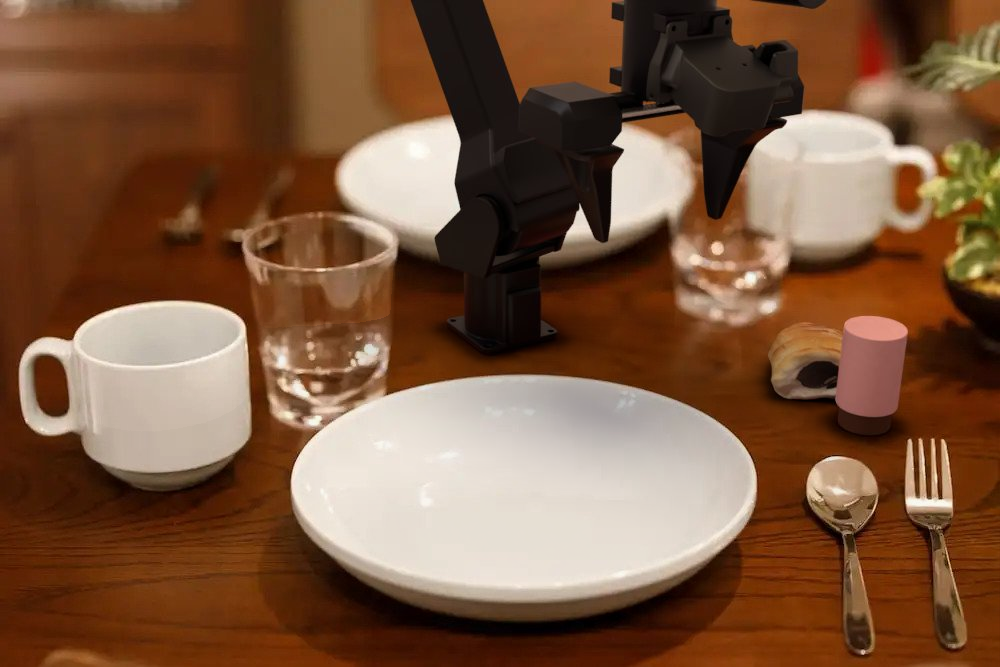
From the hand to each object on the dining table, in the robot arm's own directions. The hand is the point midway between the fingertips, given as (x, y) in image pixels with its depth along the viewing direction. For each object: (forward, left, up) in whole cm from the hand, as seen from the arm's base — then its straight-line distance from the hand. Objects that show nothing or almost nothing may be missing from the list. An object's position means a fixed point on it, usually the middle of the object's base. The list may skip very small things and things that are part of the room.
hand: (658, 229), depth 87 cm
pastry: (+4, +11, -12) cm, 17 cm away
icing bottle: (+11, +9, -12) cm, 19 cm away
